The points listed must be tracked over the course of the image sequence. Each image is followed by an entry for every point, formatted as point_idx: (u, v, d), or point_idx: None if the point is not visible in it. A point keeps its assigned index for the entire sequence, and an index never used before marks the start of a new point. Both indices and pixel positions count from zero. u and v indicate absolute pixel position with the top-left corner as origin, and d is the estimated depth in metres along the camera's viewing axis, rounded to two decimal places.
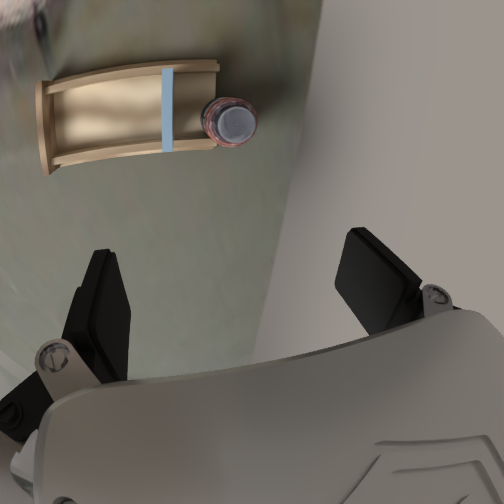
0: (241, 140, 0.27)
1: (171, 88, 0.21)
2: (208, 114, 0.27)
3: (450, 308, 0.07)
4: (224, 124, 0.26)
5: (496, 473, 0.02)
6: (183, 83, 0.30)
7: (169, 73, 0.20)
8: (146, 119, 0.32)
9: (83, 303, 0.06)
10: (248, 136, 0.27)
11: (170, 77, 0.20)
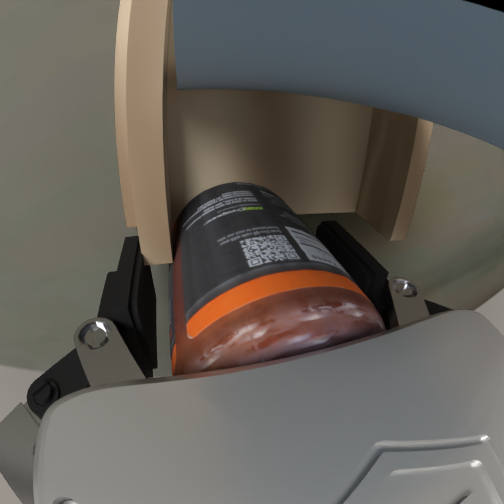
0: None
1: None
2: (353, 308, 0.05)
3: (420, 300, 0.07)
4: None
5: (496, 473, 0.02)
6: (345, 127, 0.11)
7: None
8: None
9: (122, 284, 0.07)
10: None
11: None
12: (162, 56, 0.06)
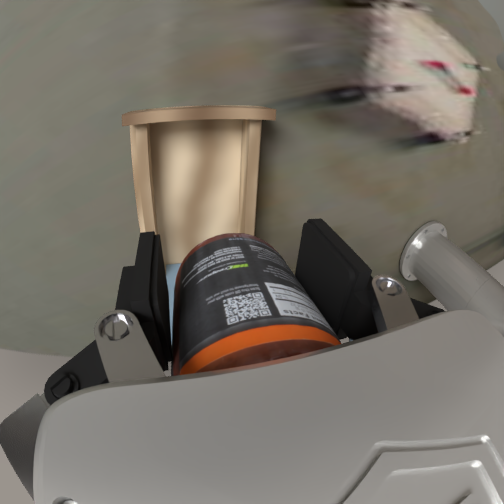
0: None
1: None
2: None
3: (406, 297, 0.07)
4: None
5: (496, 473, 0.02)
6: None
7: None
8: (184, 241, 0.31)
9: (141, 276, 0.07)
10: None
11: None
12: None
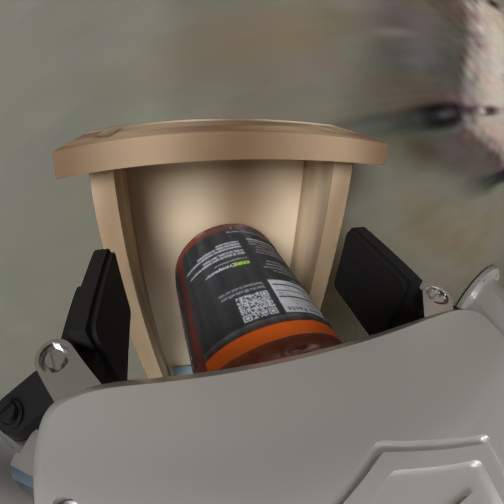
0: None
1: None
2: (316, 347, 0.08)
3: (450, 308, 0.07)
4: None
5: (496, 473, 0.02)
6: None
7: None
8: None
9: (83, 303, 0.06)
10: None
11: None
12: None
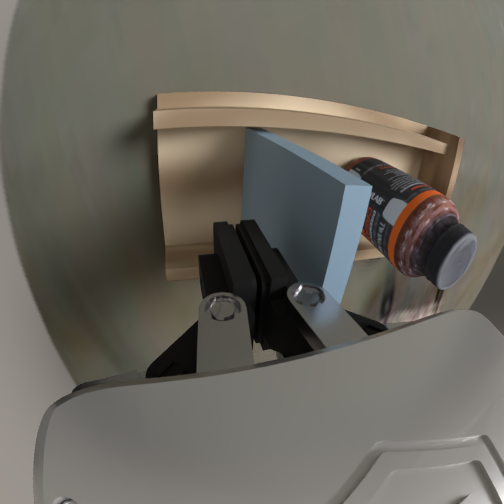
0: (464, 240, 0.12)
1: None
2: None
3: (332, 302, 0.07)
4: (469, 260, 0.13)
5: (496, 473, 0.02)
6: None
7: None
8: None
9: (234, 261, 0.08)
10: (455, 248, 0.12)
11: None
12: (270, 126, 0.15)
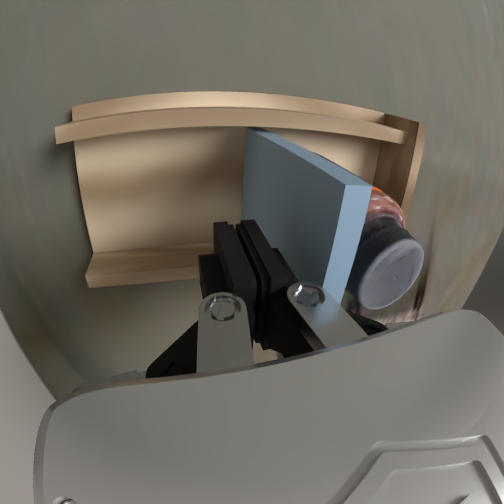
0: (396, 248, 0.10)
1: None
2: None
3: (332, 302, 0.07)
4: (413, 273, 0.12)
5: (496, 473, 0.02)
6: (142, 230, 0.19)
7: None
8: (210, 162, 0.18)
9: (235, 261, 0.08)
10: (381, 260, 0.10)
11: None
12: (165, 127, 0.13)
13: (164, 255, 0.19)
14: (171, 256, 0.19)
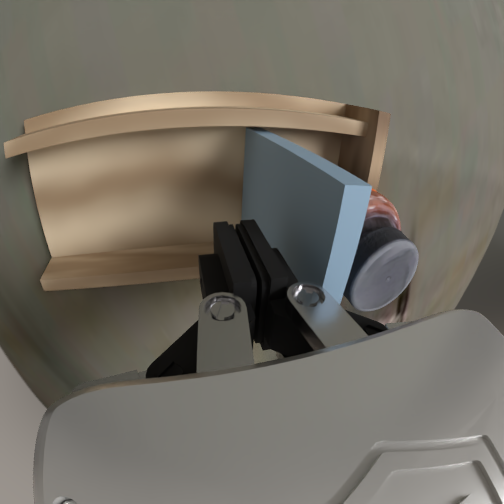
0: (389, 249, 0.10)
1: None
2: None
3: (332, 302, 0.07)
4: (407, 274, 0.11)
5: (496, 473, 0.02)
6: (93, 236, 0.18)
7: None
8: (150, 166, 0.17)
9: (235, 261, 0.08)
10: (373, 261, 0.10)
11: None
12: (94, 136, 0.12)
13: (112, 260, 0.18)
14: (117, 261, 0.18)
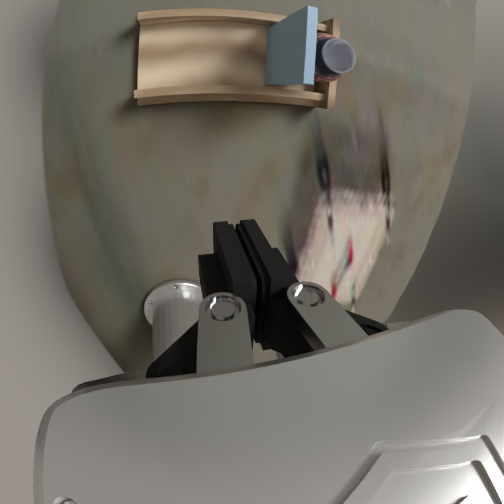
0: (335, 39, 0.19)
1: (305, 63, 0.20)
2: None
3: (332, 302, 0.07)
4: (350, 58, 0.21)
5: (496, 473, 0.02)
6: (172, 76, 0.27)
7: (306, 78, 0.21)
8: (214, 41, 0.26)
9: (234, 261, 0.08)
10: (328, 42, 0.20)
11: (306, 74, 0.20)
12: (194, 15, 0.21)
13: None
14: None
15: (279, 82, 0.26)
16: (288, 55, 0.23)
